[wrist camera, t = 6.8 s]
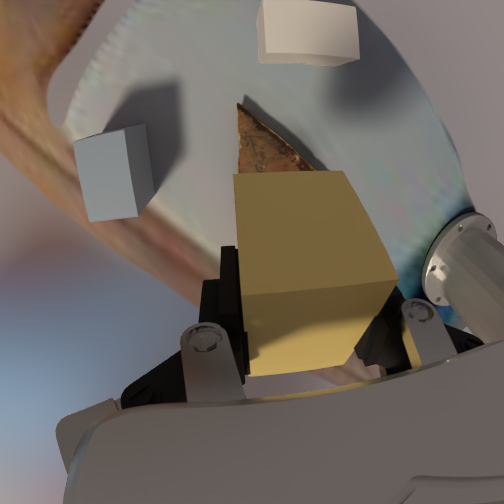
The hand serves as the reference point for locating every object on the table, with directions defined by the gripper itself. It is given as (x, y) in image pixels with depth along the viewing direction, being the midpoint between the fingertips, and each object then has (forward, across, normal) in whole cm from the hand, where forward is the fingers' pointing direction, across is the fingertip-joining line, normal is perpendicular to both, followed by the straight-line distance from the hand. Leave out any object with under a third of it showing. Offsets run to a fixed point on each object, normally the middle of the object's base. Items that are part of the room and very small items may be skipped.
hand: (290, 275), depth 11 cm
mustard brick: (+1, 0, -1) cm, 2 cm away
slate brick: (+13, +11, -3) cm, 17 cm away
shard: (+14, 0, 0) cm, 14 cm away
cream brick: (+13, -3, -12) cm, 18 cm away
